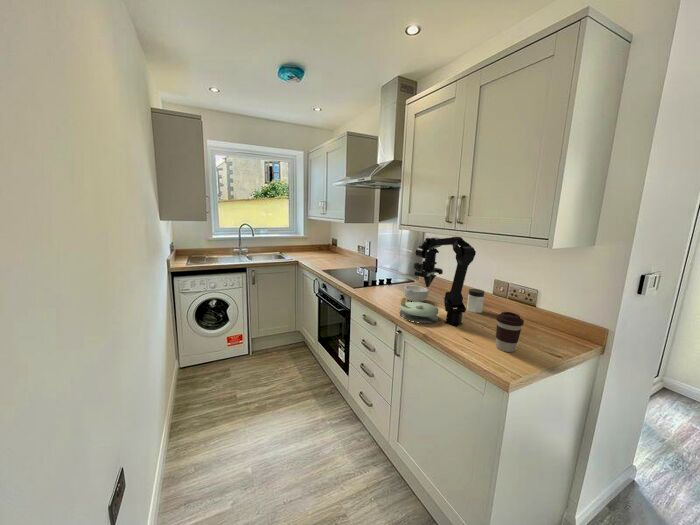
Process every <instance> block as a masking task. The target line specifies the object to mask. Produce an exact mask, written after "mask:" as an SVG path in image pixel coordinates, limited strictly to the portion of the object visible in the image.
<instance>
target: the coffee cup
mask: <svg viewBox="0 0 700 525" xmlns="http://www.w3.org/2000/svg"><path fill="white" fill-rule="evenodd" d="M495 319H496V321H497V322H496V327H495V328H496V330H495V331H496V332H495V338H496V339H495V347H496V348H497V349H498V350H500V351H503V352H507V353H514V352H515V351H516V348H517V344H518V342H519V339H520V335H521V331H522V326H523V325H524V323H525V320H524V319H523V318H521V316H520V315H519V314H517V313H514V312H510V311H503V312H501V313H499V314H496V317H495Z"/></svg>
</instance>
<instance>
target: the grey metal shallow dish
mask: <svg viewBox="0 0 700 525" xmlns="http://www.w3.org/2000/svg"><path fill="white" fill-rule="evenodd" d="M399 314H400V316H401V317H403V318H404V319H407V320H410V321H414V322H419V323H431V324H434V323H437V322H438V321H439V317H438V314H437V315H435V316H428V317H424V316H415V315H411V314H408V313H405V312H403V311H402V310H401V309H400V311H399ZM399 314H398V315H399ZM400 316H399V317H400ZM401 317H400V318H401ZM404 319H403V320H404Z"/></svg>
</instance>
